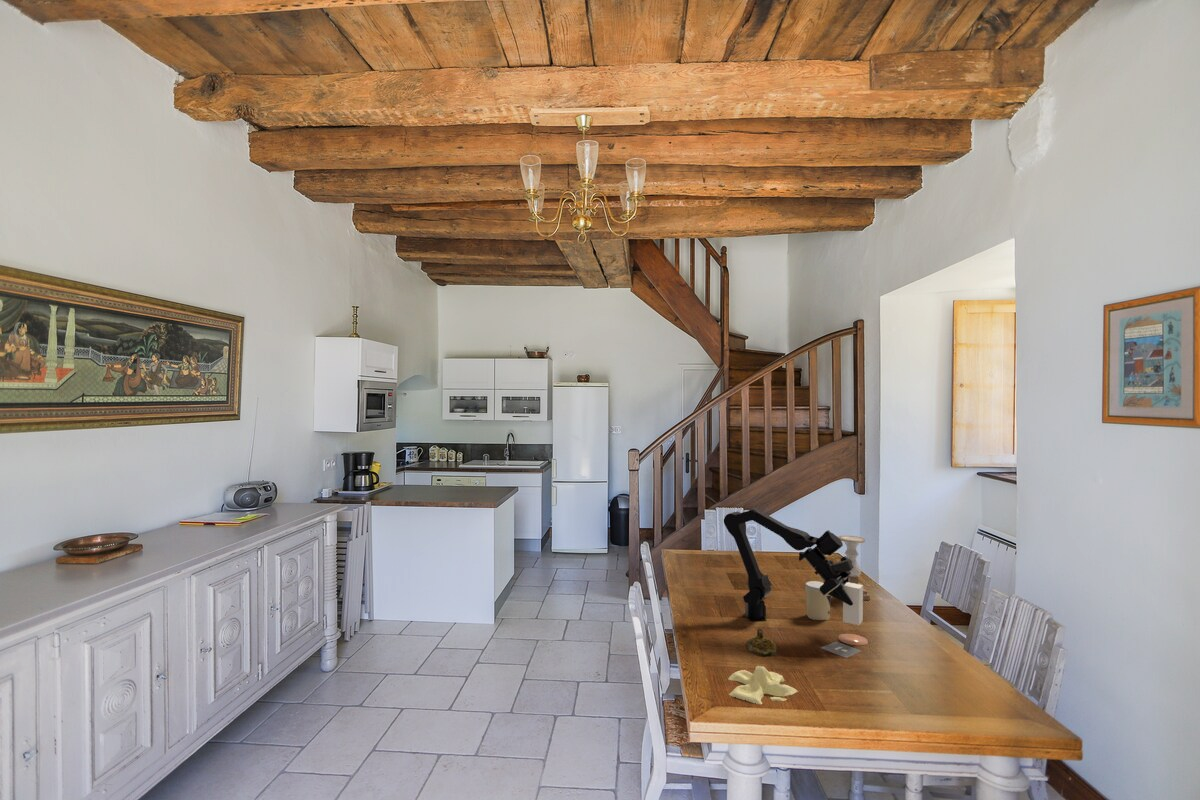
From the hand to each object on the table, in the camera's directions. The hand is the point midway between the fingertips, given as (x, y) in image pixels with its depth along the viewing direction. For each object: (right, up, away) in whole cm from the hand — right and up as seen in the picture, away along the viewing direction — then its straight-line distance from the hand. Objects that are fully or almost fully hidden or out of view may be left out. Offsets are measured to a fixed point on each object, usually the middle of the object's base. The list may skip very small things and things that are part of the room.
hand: (854, 602), depth 191 cm
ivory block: (0, -6, 0) cm, 6 cm away
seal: (-33, -13, -6) cm, 36 cm away
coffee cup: (-4, -13, +22) cm, 26 cm away
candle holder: (+20, -14, +47) cm, 53 cm away
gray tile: (-8, -12, -8) cm, 17 cm away
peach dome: (0, -13, 0) cm, 13 cm away
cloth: (-39, -12, -33) cm, 53 cm away
